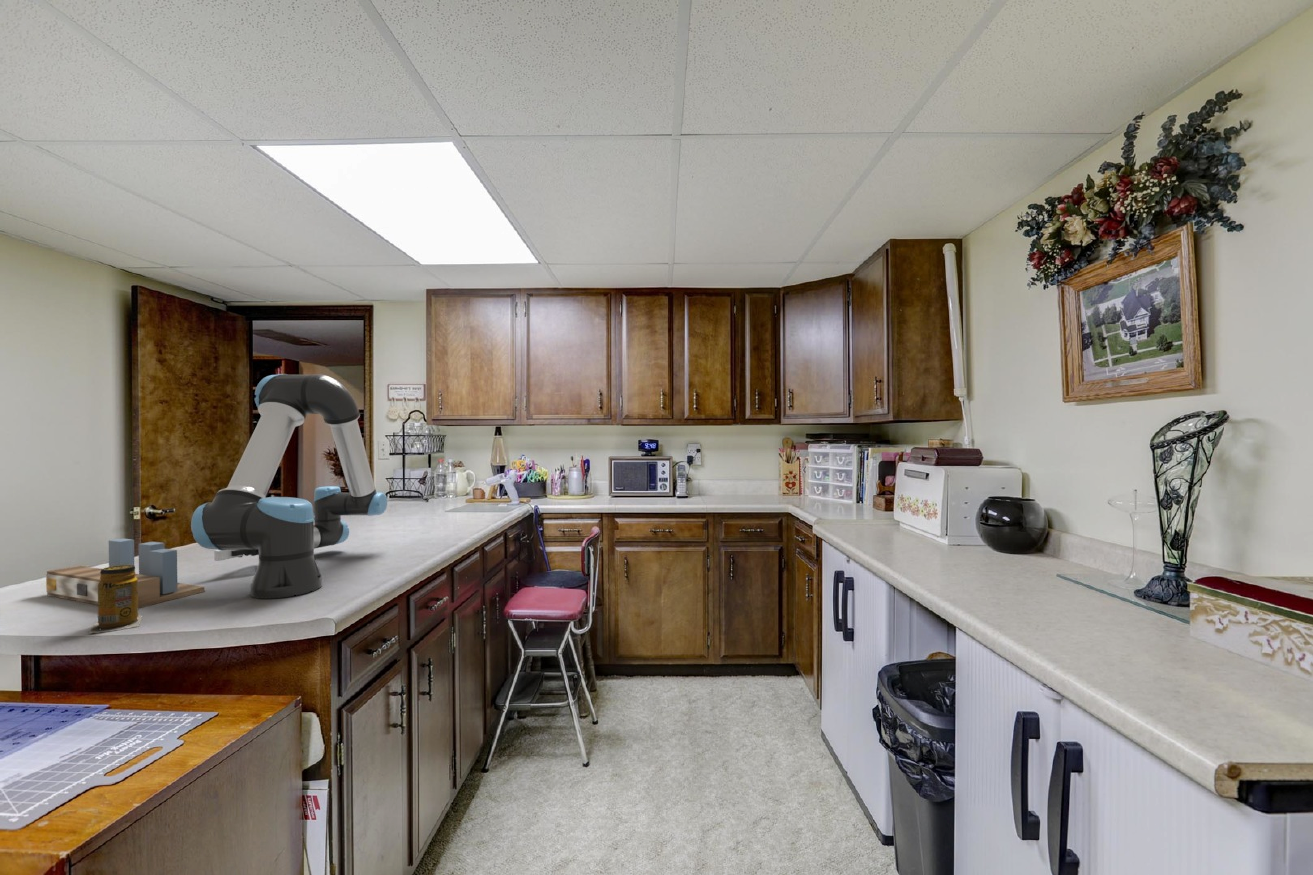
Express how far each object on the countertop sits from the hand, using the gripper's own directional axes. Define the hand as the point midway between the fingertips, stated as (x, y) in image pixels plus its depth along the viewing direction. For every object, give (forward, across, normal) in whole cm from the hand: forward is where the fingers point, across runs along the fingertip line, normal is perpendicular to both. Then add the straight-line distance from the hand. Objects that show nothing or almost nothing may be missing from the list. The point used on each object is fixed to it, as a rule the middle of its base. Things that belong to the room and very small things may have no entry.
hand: (216, 555), depth 150 cm
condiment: (+30, -20, -7) cm, 37 cm away
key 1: (+11, +20, -5) cm, 23 cm away
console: (+17, +7, -6) cm, 19 cm away
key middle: (+11, +7, -5) cm, 14 cm away
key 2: (+15, -6, -5) cm, 17 cm away
